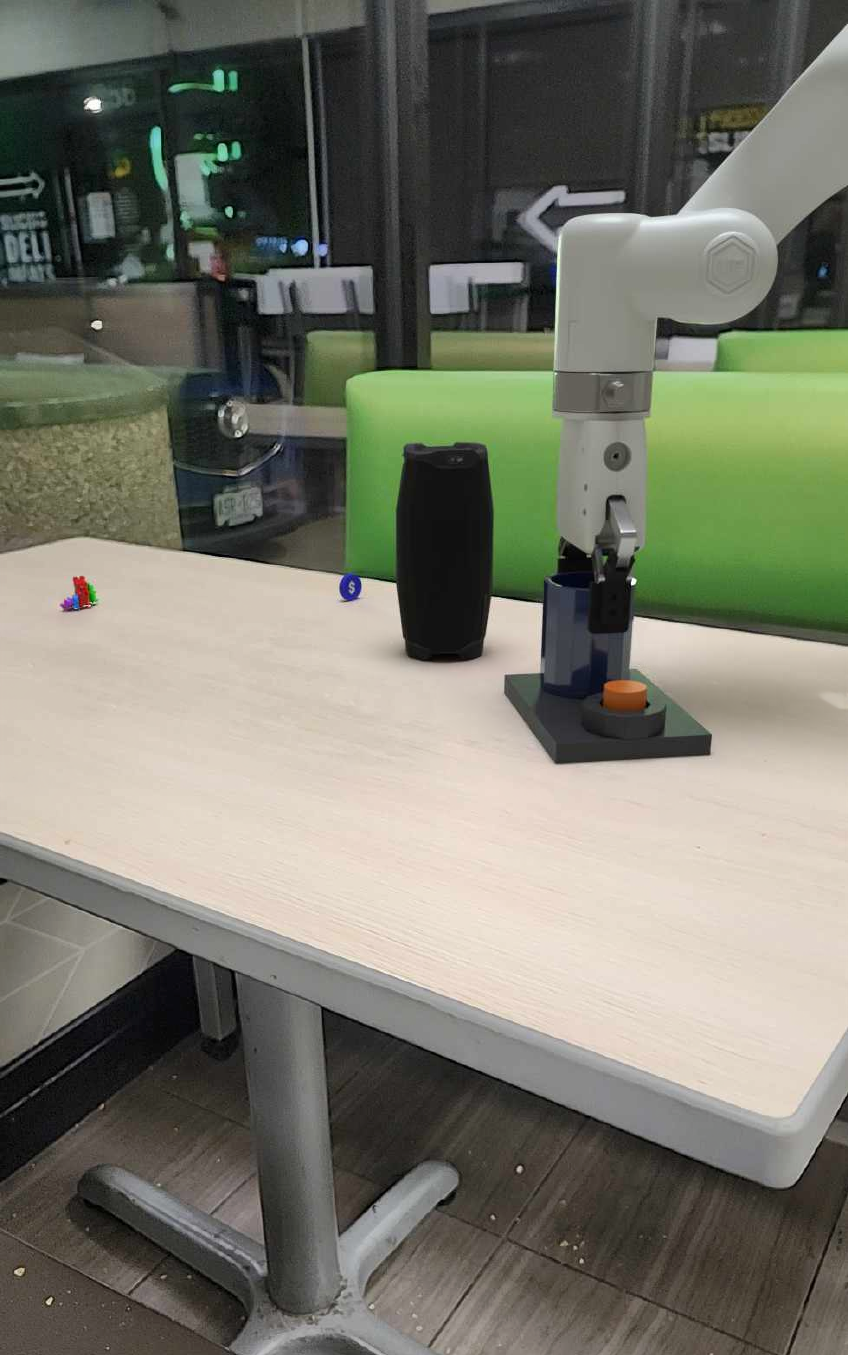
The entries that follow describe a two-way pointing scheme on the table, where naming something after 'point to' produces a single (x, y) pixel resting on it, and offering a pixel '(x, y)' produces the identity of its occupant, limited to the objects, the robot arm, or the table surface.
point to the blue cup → (579, 640)
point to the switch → (625, 695)
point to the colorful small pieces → (80, 594)
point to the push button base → (606, 724)
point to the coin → (350, 586)
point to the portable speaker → (444, 549)
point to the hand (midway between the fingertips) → (590, 617)
